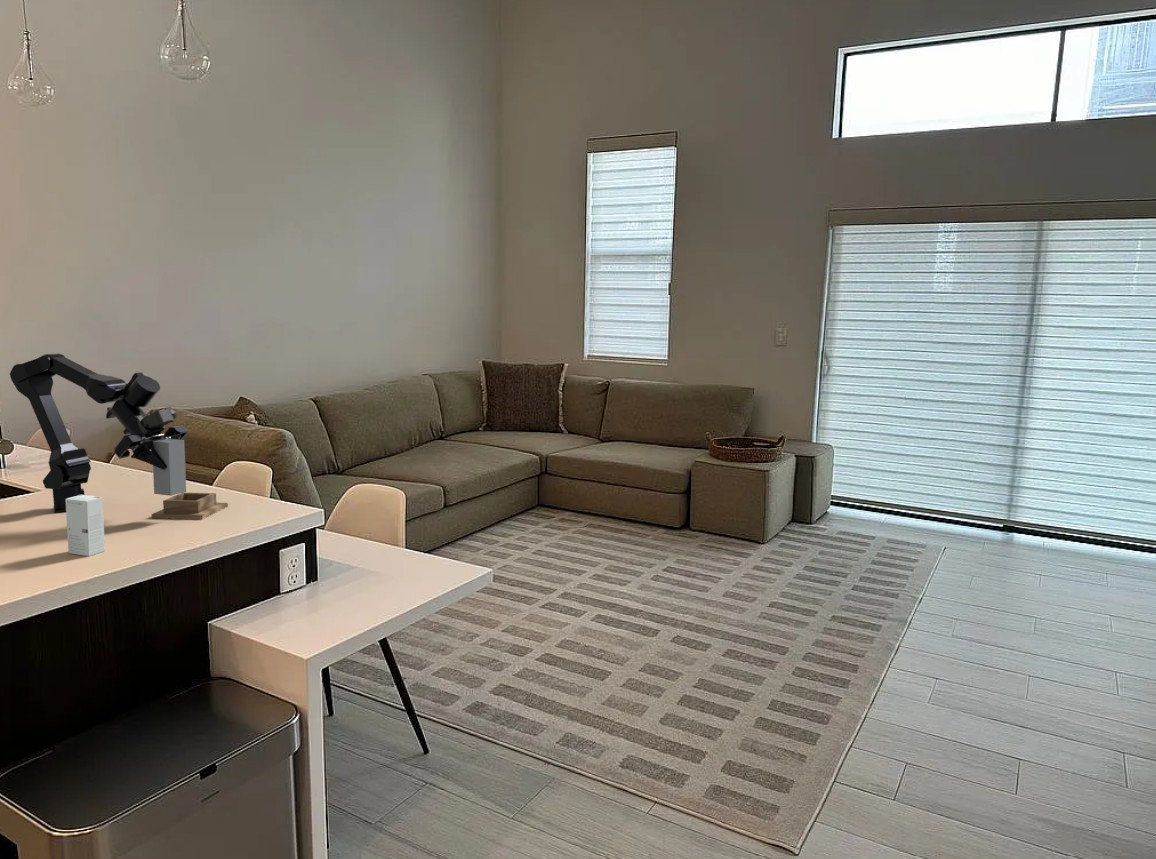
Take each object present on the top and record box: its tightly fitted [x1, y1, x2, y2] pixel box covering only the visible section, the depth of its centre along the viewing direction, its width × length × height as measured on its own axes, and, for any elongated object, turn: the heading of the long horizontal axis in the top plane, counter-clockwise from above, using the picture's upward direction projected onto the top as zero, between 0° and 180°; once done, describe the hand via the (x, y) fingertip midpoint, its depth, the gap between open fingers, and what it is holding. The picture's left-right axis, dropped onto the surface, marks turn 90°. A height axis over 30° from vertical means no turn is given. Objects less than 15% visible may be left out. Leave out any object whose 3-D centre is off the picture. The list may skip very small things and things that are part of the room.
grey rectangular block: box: [152, 439, 187, 497], centre depth 199 cm, size 5×5×13 cm
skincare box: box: [65, 494, 106, 557], centre depth 173 cm, size 6×4×12 cm
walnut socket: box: [151, 492, 229, 520], centre depth 207 cm, size 13×13×4 cm
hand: (173, 466), depth 198 cm, fingers closed on grey rectangular block, 5 cm apart
